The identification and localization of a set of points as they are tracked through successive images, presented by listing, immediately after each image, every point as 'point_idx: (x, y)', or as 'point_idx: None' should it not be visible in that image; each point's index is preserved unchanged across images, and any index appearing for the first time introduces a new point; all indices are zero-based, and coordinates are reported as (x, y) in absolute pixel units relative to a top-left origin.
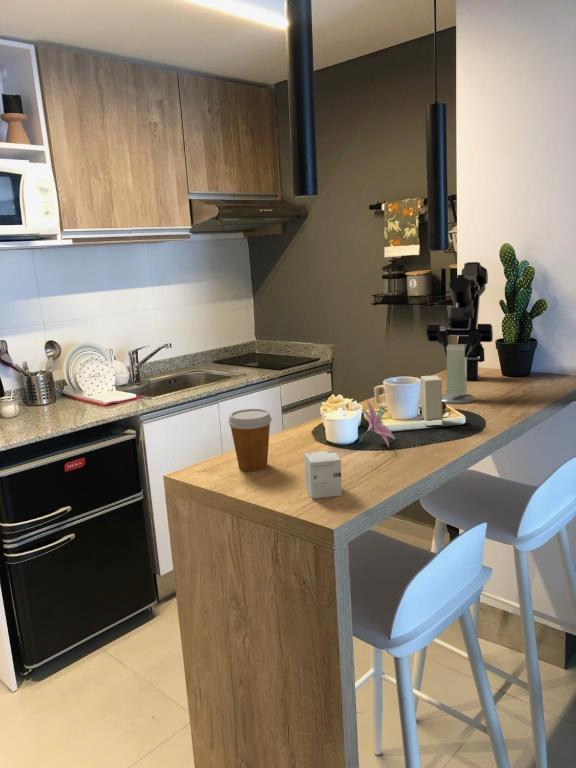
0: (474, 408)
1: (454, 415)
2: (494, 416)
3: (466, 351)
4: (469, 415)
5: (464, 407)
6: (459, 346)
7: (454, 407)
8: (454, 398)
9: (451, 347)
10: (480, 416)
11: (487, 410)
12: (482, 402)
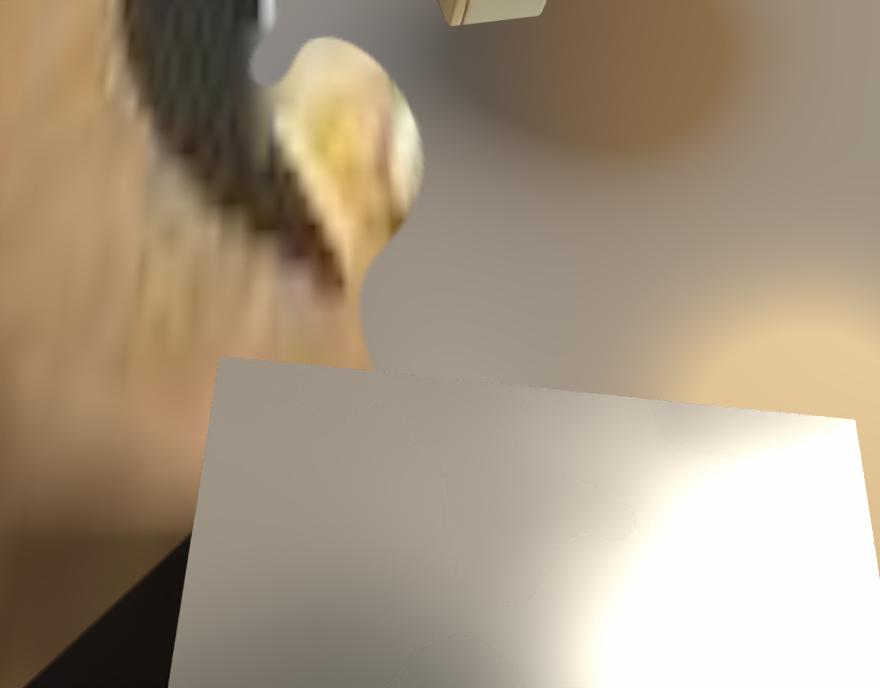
0: (181, 323)
1: (344, 122)
2: (29, 104)
3: (180, 584)
4: (230, 124)
5: (271, 349)
6: (429, 421)
7: (359, 341)
8: None
9: (681, 410)
10: (145, 102)
11: (65, 267)
12: (81, 562)
